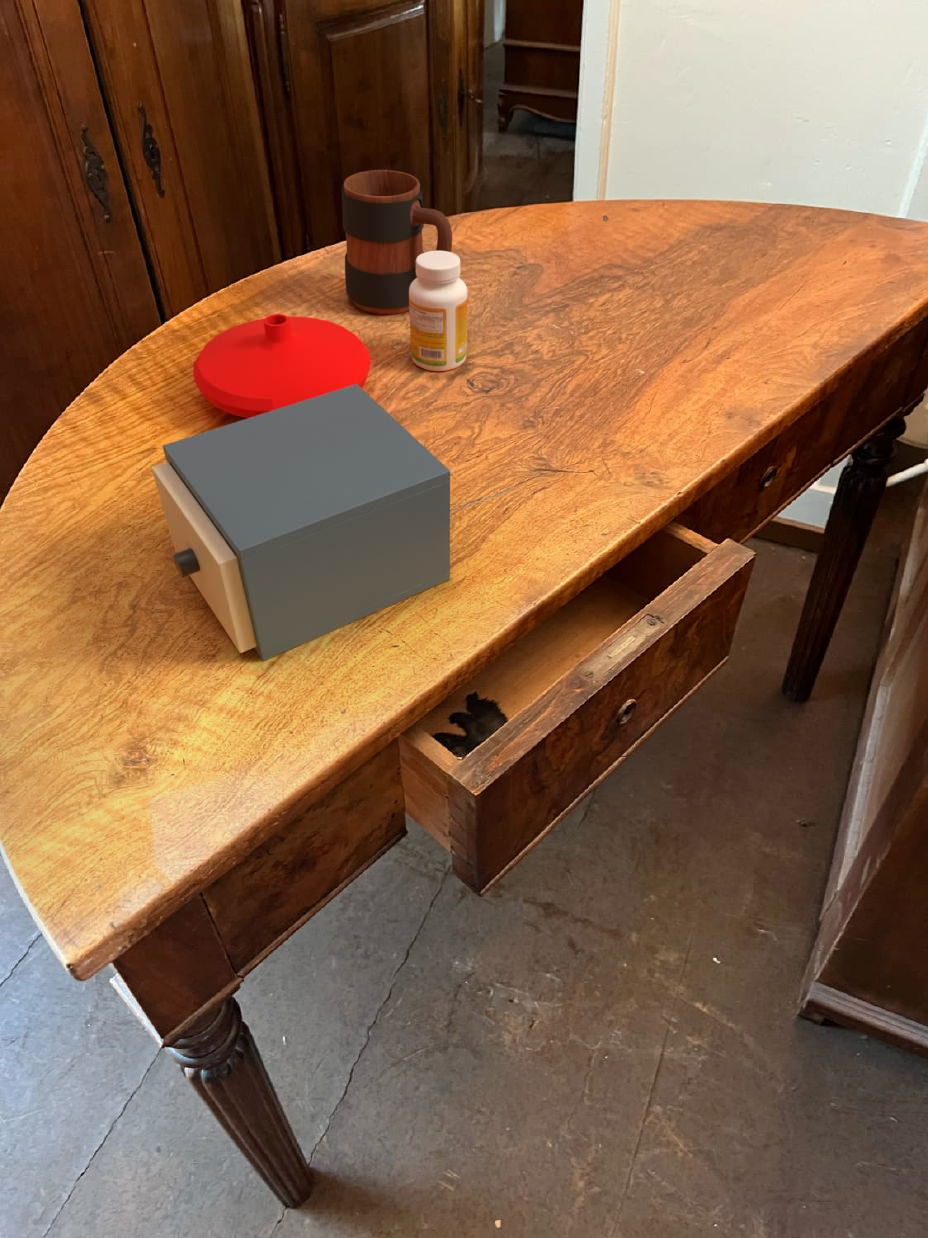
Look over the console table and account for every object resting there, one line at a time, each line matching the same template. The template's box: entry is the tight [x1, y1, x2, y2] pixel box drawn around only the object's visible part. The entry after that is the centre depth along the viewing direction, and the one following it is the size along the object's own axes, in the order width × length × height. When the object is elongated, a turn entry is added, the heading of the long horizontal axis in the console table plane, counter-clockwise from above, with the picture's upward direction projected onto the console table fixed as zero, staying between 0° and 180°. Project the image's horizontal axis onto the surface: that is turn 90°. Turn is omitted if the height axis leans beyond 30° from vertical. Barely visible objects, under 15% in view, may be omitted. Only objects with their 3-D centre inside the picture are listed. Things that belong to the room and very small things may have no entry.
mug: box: [341, 169, 453, 315], centre depth 90 cm, size 9×12×12 cm
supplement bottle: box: [409, 250, 468, 372], centre depth 83 cm, size 5×5×10 cm
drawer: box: [151, 461, 257, 654], centre depth 60 cm, size 15×11×8 cm
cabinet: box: [162, 384, 451, 662], centre depth 61 cm, size 15×13×10 cm
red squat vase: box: [192, 313, 372, 419], centre depth 79 cm, size 16×16×7 cm
